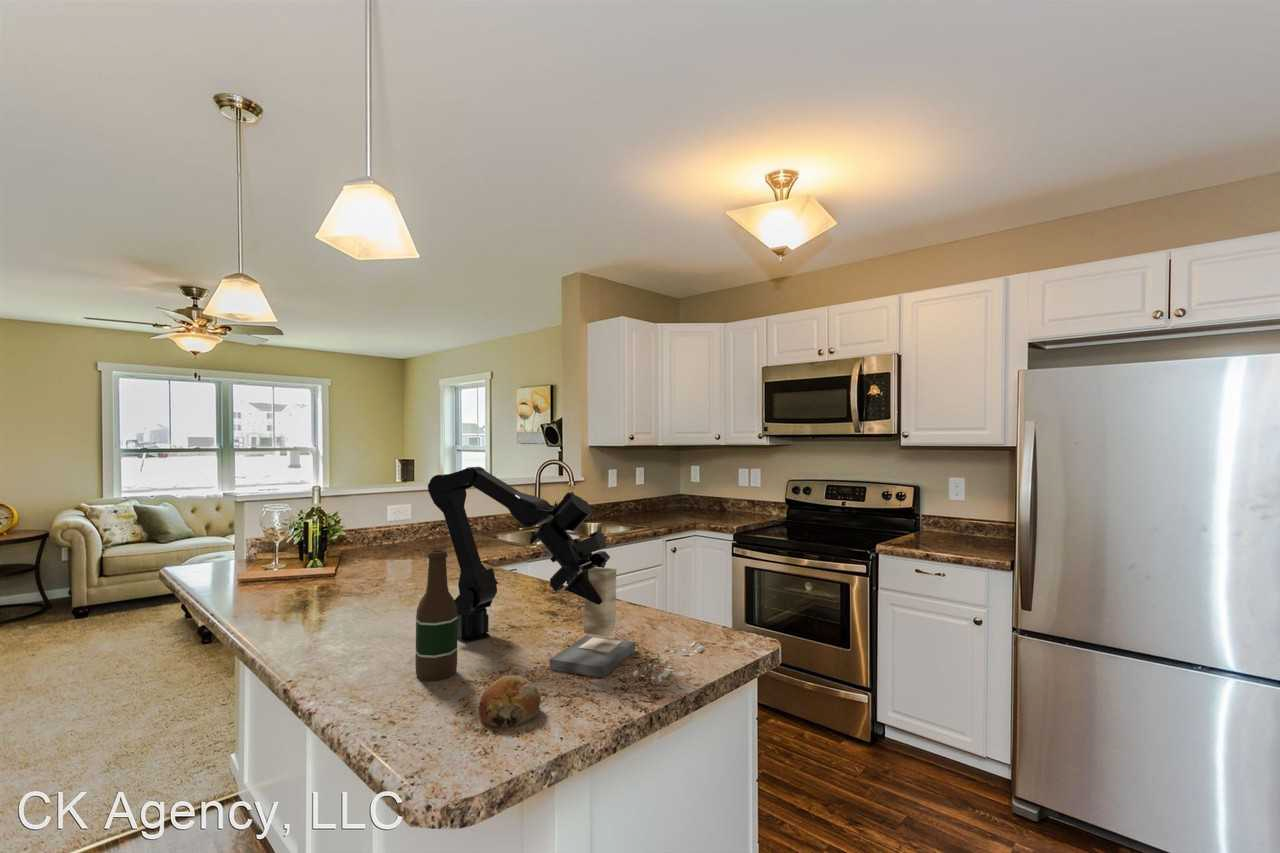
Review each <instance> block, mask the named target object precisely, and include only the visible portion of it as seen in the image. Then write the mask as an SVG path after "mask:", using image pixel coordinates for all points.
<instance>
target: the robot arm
mask: <svg viewBox="0 0 1280 853" xmlns="http://www.w3.org/2000/svg"><path fill="white" fill-rule="evenodd" d="M470 488H471V489H472V488H474V489H476V490H478V491H479V492H481V493H483V494H484V495H486V496H487V497H489V498H490V499H492V500H495V501H496V502H497V503H499V504H501V505H502V506H503V507H505V508H507V510H508V511H509V512H510V514H511V516H512V518H514V519H515V521H517V522H518V523H519V524H520V525H522V526H523V527H525V528H531V527H535V526H539V525H541V526H539V528H538V529H534V530H531V531H530V539H529V542H530V544H531V545H532V544H536V543H540V542H541V543H542V544H543V546H544V547H545V549H546V550H547V551H548V552H549V553H550V555H551V557H550V561H551V562H552V563H555V562H557V563H558V564H559V566H560V568H559V569H558V570H557V571H556V572H555V573H554V574H553V575H552V576H551V577H550V578H549V586H550V588H551V589H552V590H553V591H554V592H555V593H557V592H559V591H561V590H563V589H564V590H563V591H565V592H569V593H571V594H572V595H573V594H574V595H576V596H579V597H581V598H583V599H584V600H585V599H587V600H589V601H591V602H593V603H595V604H597V605H600V604H601V603H602V600H601V598H600V596H599V595H598V593H597V592H596V590H595V589H594V587H593V586H592V584H591V583H590V581H589V579H588V570H589V569H592V568H594V567H601V568H606V567H605V566H606V565H607V562H608V561H609V560H610V559H611V556H610V554H608V552H606V551H605V550H601V549H605V548H607V547H608V545H607V542H606V541H607V539H608V537H607V536H605V534H604V533H603V532H601V531H600V530H596V531H594V532H591V533H590V534H589V537H588V538H586V539H583V540H580V538H573V537H572V536H571V535H570V533H569V532H568V531H572V532H574V531H576V530H577V529H578V528H579V527H580V526H581V525H582V524H583V523H584V521H585V520H586V519H588V517H589V516H590V515H591V514H592V513H593V509H592V507H591V505H590V504H589V502H588V501H586V500H584V499H583V498H582V497H580V496H578V495H577V494H575V493H574V492H573V491H570V492H567V493H565V495H564V496H563V498H562V500H561V501H560V502H559V503H557V505H554V504H550V503H549V501H547V500H546V499H544V498H541V497H538V496H535V495H533V494H532V495H531V494H529V493H528V494H527V493H524V492H521V491H519V489H518V490H517V489H516V488H514V487H513V486H511V485H509V484H507V483H506V482H504V481H503V480H501V479H499V478H497V477H496V476H495V475H493V474H491V473H490V472H488V471H487V470H486V469H485V468H483V467H482V466H469V467H468V466H467V467H466V468H464V469H462V470H461V469H460V470H459V471H454V472H452V473H447V474H444V473H443V474H436V475H434V476H432V477H431V478H430V480H429V483H428V484H427V490H428V494H429V496H430V498H431V500H432V502H433V504H434V505H435V506H436V507H437V508H438V509H439V510H440V511H441V512H442V513H443V517H444V519H445V523H446V526H447V530H448V533H449V536H450V539H451V544H452V546H453V549H454V553H455V556H456V560H457V563H458V566H459V570H460V573H459V578H458V582H457V584H458V585H457V587H458V593H459V594H458V595H457V596H456V598H455V599H454V600H455V603H456V606H457V615H458V624H457V640H459V641H461V642H462V643H468V642H472V641H477V640H481V639H486V638H490V637H491V635H490V633H489V623H490V622H489V621H490V620H489V618H490V617H489V616H490V615H489V614H488V609H487V608H490V607H491V605H492V603H493V601H494V599H495V597H496V595H497V593H498V587H497V585H498V584H499V582H498V581H497V579H496V576H495V575H496V574H495V571H494V569H493V568H492V567H490V568H488V569H487V568H486V567H485V566H484V565H483V563H482V560H481V557H480V555H479V550H478V548H477V545H476V542H475V538H474V535H473V530H472V528H471V524H470V521H469V519H468V518H469V517H468V516H467V511H466V509H465V508H466V507H465V504H466V499H467V490H468V489H470ZM550 519H551V520H550ZM549 520H550V521H549ZM548 521H549V522H548ZM564 584H566V585H567V586H566V587H565V588H564Z"/></svg>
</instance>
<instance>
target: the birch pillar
mask: <svg viewBox="0 0 1280 853" xmlns="http://www.w3.org/2000/svg"><path fill="white" fill-rule="evenodd" d="M588 579H589V581H590V583H591V584H592V586H593V587H594V589H595V590H596V592H597V593H598V595H599V596H600V598H601V600H602V603H601V604H600V605H597V604H595V603H593V602H591V601H589V600H587V599H585V598H584V602H583V603H584V610H583V634H589V635H596V636H601V637H602V636H603V637H606V636H607V635H609V634H611V633H612V632H614V631H616V607H617V606H616V604H617V603H616V599H617V568H611V567H605V568H601V567H594V568H592V569H589V570H588Z"/></svg>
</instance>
